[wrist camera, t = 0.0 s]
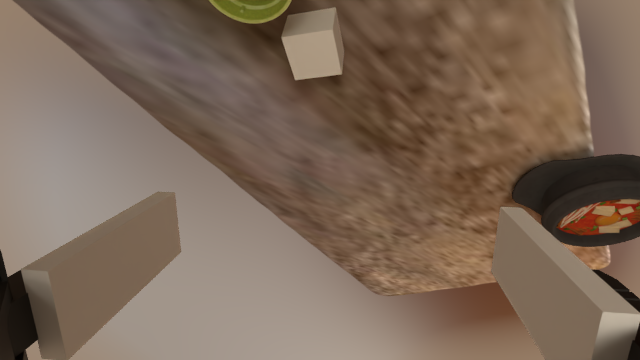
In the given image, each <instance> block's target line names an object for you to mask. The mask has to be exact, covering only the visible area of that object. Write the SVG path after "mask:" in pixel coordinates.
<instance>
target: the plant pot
mask: <svg viewBox="0 0 640 360" xmlns="http://www.w3.org/2000/svg"><path fill="white" fill-rule="evenodd" d="M209 1H210V2H211V3H212V4H213V5H214V6H215V7H216V8H217V9H218V10H219V11H221V12H222V13H223V14H225V15H227V16H228V17H230V18H232V19H235V20H237V21H240V22H244V23H264V22H267V21H270V20H273V19H275V18H277V17H278V16H280V15H281V14H282V13H283V12H284V11H285V10H286V9H287V8H288V6H289V5H290V3H291V1H292V0H209Z"/></svg>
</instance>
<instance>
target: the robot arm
mask: <svg viewBox="0 0 640 360" xmlns="http://www.w3.org/2000/svg"><path fill="white" fill-rule="evenodd" d="M180 252H181V246H180V237H179V227H178V218H177V208H176V199H175V193H174V192H157V193H155V194H153V195H151V196H150V197H148V198H146V199H144V200H142V201H141V202H139V203H137V204H135V205H134V206H132V207H130V208H129V209H126V210H125V211H123V212H121V213H119V214H118V215H116V216H114V217H112V218H111V219H109V220H107V221H105V222H103V223H102V224H100V225H98V226H96V227H95V228H93V229H91V230H89V231H88V232H86V233H84V234H82V235H80V236H79V237H77V238H75V239H73V240H72V241H70V242H68V243H66V244H65V245H63V246H61V247H59V248H58V249H56V250H54V251H52V252H50V253H49V254H47V255H45V256H44V257H42V258H40V259H38V260H36V261H35V262H33V263H31V264H29V265H27V266H26V267H24V268H22V269H21V270H20V271H18V272H16V273H14V274H13V275H11V276H9V277H7V274H6V269H5V265H4V261H3V257H2V253H1V251H0V360H28V358H27V354H26V350H25V349H27V348H28V347H29V346H30V345H32V344H33V343H34V342H35V341H37V340H38V344H39V349H40V353H41V357H42V358H43V359H53V360H69V359H70V358H71V357H72V356H73V355H74V354H75V353H76V352H77V351H78V350H79V349H80V348H81V347H82V346H83V345H84V344H85V343H86V342H87V341H88V340H89V339H91V338H92V336H94V335H95V333H97V332H98V331H99V330H100V329H101V328H102V327H103V326H104V325H105V324H106V323H107V322H108V321H109V320H110V319H111V318H112V317H114V315H116V314H117V313H118V312H119V311H120V310H121V309H122V308H123V307H124V306H125V305H126V304H127V303H128V302H129V301H130V300H131V299H132V298H133V297H134V296H135V295H137V294H138V293H139V292H140V291H141V290H142V289H143V288H144V287H145V286H146V285H147V284H148V283H149V282H150V281H151V280H152V279H153V278H154V277H155V276H156V275H157V274H159V273H160V271H162V270H163V269H164V268H165V267H166V266H167V265H168V264H169V263H170V262H171V261H172V260H173V259H174V258H175V257H176V256H177V255H178V254H179V253H180ZM491 272H492V274H493V275H494V277H495V279H496V280H497V282H498V283H499V285H500V287H501V288H502V290H503V292H504V293H505V295H506V296H507V298H508V300H509V301H510V303H511V305H512V306H513V308H514V309H515V311H516V313H517V314H518V316H519V318H520V319H521V321H522V322H523V324H524V326H525V327H526V329H527V331H528V332H529V334H530V336H531V337H532V339H533V340H534V342H535V344H536V345H537V347H538V349H539V350H540V352H541V353H542V355H543V357H544V358H545V360H640V299H639V298H638V297H637V296H636V295H635V294H634V293H632V292H629V289H628V288H626V287H625V286H624V285H623V284H622V283H620V282H619V281H618V280H617V279H614V278H613V277H611V276H609V275H607V274H605V273H603V272H601V271H599V270H592V269H590V268H589V267H588V266H587V265H585V264H584V263H583V262H582V261H581V260H580V259H579V258H578V257H576V256H575V255H574V254H573V253H572V252H571V251H570V250H569V249H567V248H566V247H565V246H564V245H563V244H562V243H561V242H560V241H558V240H557V239H556V238H555V237H554V236H553V235H552V234H551V233H549V232H548V231H547V230H546V229H545V228H544V227H543V226H542V225H540V224H539V223H538V222H537V221H536V220H535V219H534V218H533V217H531V216H530V215H529V214H528V213H527V212H526V211H525V210H523V209H522V208H514V207H500V213H499V220H498V227H497V234H496V241H495V248H494V255H493V262H492V269H491Z"/></svg>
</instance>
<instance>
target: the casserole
mask: <svg viewBox="0 0 640 360" xmlns="http://www.w3.org/2000/svg"><path fill="white" fill-rule="evenodd" d="M512 198H513V199H514V201H515V202H517V203H519V204H521V205H524V206H526V207H529V208H531V209H532V210H534V211H535V212H537V213H539V214H540V215H542V218H541V223H542V226H543V227H544V228H545V229H546V230H547V231H548V232H549V233H551V234H552V235H553V236H554V237H555V238H556V239H557V240H559V241H560V242H562V243H565V244H568V245H573V246H582V247H595V246H606V245H612V244H617V243H621V242H625V241H628V240H632V239H634V238H637V237H639V236H640V157H639V156H635V155H624V154H615V155H603V156H597V157H590V158H584V159H574V160H556V161H551V162H547V163H544V164H542V165H540V166H538V167H536V168H534V169H533V170H531V171H530V172H528V173H527V174H525V175H524V176H523V177H522V178H521V179H520V180H519V181H518V183H517V184H516V186H515V187H514V190H513V193H512Z"/></svg>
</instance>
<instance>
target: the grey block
mask: <svg viewBox="0 0 640 360" xmlns="http://www.w3.org/2000/svg"><path fill="white" fill-rule="evenodd" d="M281 38H282V41H283V44H284V47H285V50H286V54H287V57H288V60H289V63H290V66H291V69H292V72H293V75H294V78H295V80H301V79H309V78H317V77H325V76H333V75H341V74H342V69H343V60H344V47H343V42H342V37H341V32H340V26H339V21H338V16H337V11H336V7H334V8H328V9H322V10H316V11H311V12H305V13H299V14H293V15H288V16H287V19H286V23H285V26H284V30H283V33H282V36H281Z"/></svg>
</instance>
